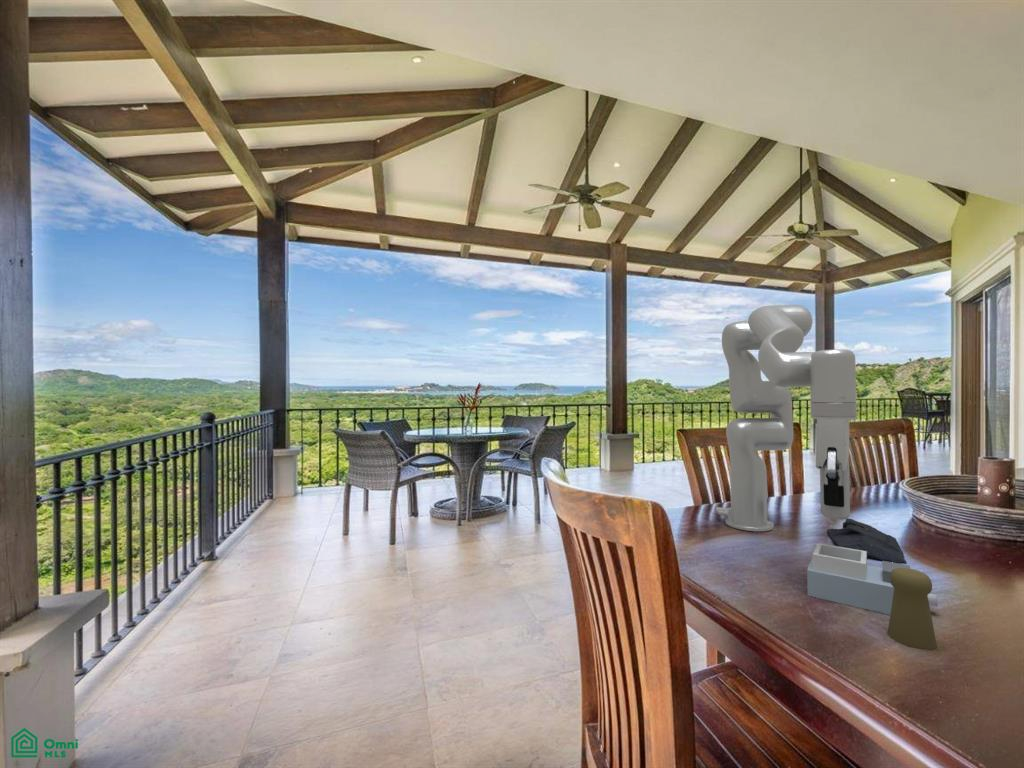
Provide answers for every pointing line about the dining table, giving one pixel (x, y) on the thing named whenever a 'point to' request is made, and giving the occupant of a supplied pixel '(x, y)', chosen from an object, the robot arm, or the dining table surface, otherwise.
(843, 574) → the recessed tray block
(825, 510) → the beverage can
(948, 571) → the dining table surface
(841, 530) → the dark slate chunk
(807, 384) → the robot arm
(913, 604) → the olive pepper mill
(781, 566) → the dining table surface
